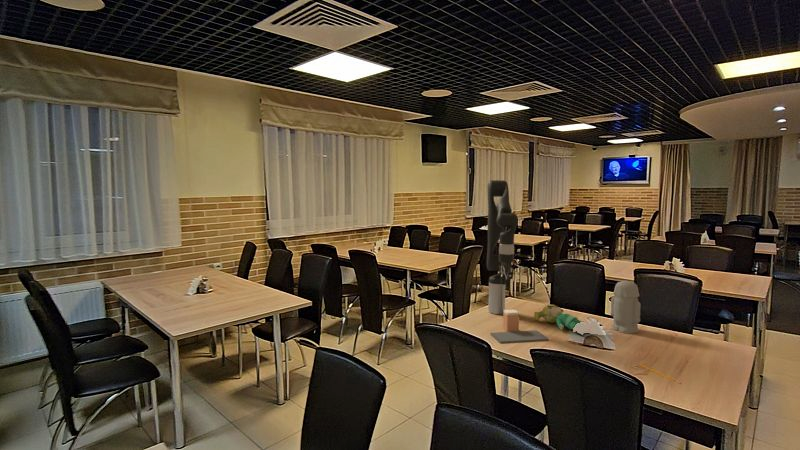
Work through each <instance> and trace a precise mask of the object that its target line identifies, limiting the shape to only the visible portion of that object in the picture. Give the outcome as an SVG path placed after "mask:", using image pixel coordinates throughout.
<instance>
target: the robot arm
mask: <svg viewBox="0 0 800 450" xmlns="http://www.w3.org/2000/svg"><path fill="white" fill-rule="evenodd" d="M495 197H496V198H497V197H499V199H498V200H497V202H495ZM487 208H488V209H487V250H486V251H487V252H486V269H487V270H488V271H489V272H490V271H493V272H498V273H497V274H494V275H491V276H489V278H488V304H487V305H488V308H487V309H488V311H489V312H490V314H492V313H493V314H492V315H502V314H503V312H504V310H506V287H507V288H510V287H511V280H513V278H514V272H515V268H514V267H512V263H514V261H515V232H516V229H517V226H518V223H519V217H518V215H517V214H516V213H513V211H512V207H511V204H510V191H509V184H508V182H507V181H506V180H496V179H495V180H494V179H493V180H489V181H488V182H487ZM505 228H509V229H508V230H506V231H505ZM498 242H499V245H498V254H494V250H495V248H496V246H497V244H498ZM489 312H488V313H489Z"/></svg>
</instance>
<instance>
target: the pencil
mask: <svg viewBox="0 0 800 450" xmlns="http://www.w3.org/2000/svg"><path fill="white" fill-rule="evenodd" d="M635 364H636V365H638V366H640V367H642V368H645V369H647V370H649V371H651V372H653V373H656V374H658V375H660V376H662V377H664V378H666V377H667V378H666V379H669V378H670V379H669V380H671V379H673V380H675V381H678V382H680V381H679V380H677V379H675V378H673V377H670V376H668V375H666V374H663V373H662V372H659V371H657V370H654V369H652V368H650V367H648V366H646V365H644V364H641V363H638V362H636V363H635ZM673 380H672V381H673ZM675 381H674V382H675ZM678 382H677V383H678Z"/></svg>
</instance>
